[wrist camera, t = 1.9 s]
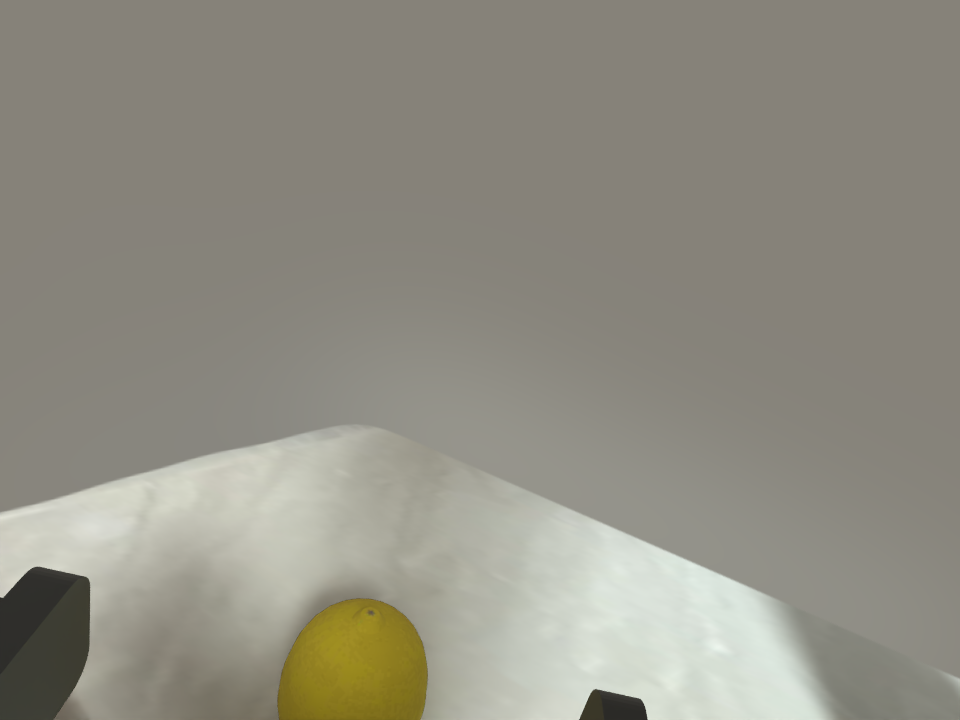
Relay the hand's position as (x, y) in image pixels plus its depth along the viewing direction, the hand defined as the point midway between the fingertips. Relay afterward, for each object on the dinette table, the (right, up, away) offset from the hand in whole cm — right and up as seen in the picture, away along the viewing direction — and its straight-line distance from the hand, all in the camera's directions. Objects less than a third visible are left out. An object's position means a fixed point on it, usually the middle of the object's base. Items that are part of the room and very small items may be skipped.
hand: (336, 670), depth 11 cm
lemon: (-3, -11, +18) cm, 21 cm away
